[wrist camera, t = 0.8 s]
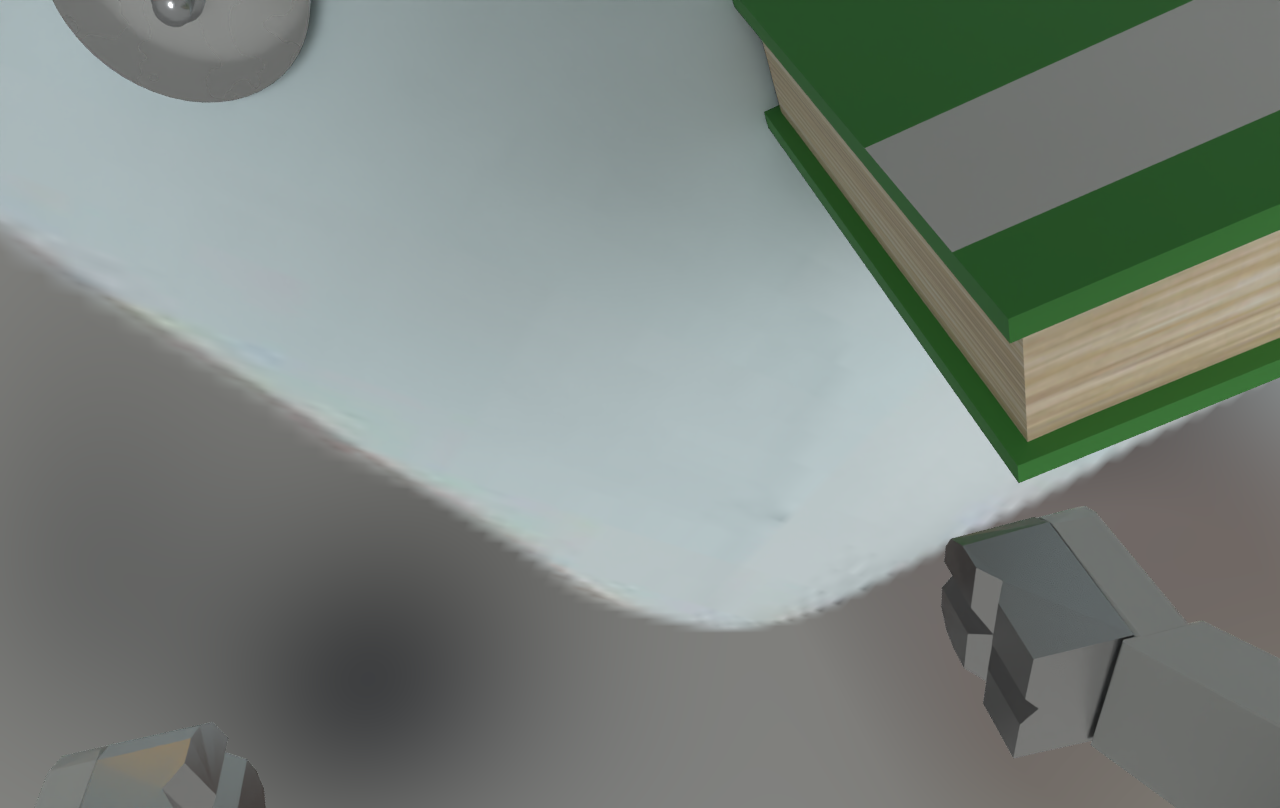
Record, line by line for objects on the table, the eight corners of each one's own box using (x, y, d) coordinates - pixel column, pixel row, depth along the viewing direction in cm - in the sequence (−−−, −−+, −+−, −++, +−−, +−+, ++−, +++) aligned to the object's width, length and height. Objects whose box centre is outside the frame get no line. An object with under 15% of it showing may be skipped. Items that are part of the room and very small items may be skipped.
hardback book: (768, 127, 44) (1018, 483, 27) (728, -14, 39) (1008, 319, 22) (1107, -28, 42) (1597, 248, 26) (1114, -197, 37) (1734, 11, 20)
